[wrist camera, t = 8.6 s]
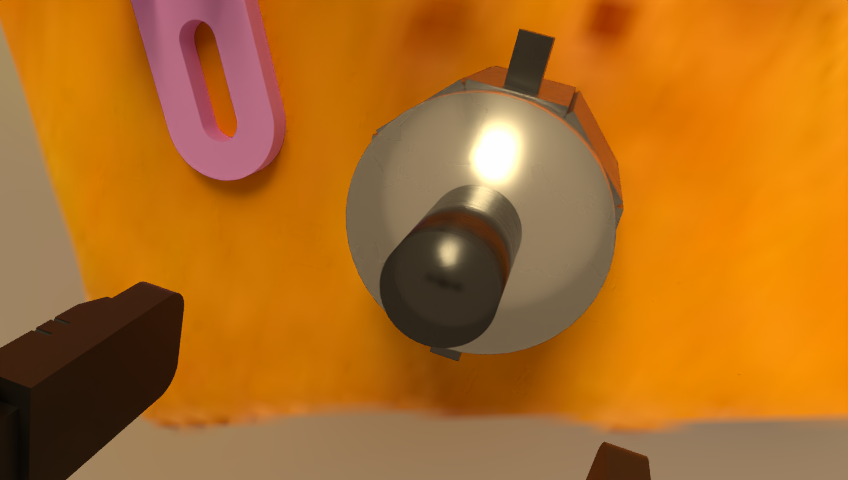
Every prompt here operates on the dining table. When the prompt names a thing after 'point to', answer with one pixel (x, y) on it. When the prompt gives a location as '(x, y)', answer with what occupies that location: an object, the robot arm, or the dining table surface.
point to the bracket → (187, 92)
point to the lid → (481, 222)
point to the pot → (558, 97)
